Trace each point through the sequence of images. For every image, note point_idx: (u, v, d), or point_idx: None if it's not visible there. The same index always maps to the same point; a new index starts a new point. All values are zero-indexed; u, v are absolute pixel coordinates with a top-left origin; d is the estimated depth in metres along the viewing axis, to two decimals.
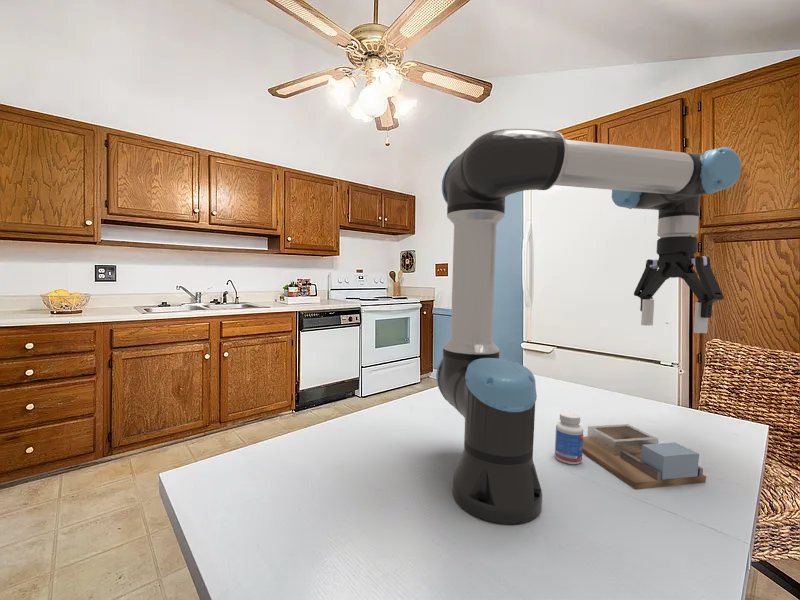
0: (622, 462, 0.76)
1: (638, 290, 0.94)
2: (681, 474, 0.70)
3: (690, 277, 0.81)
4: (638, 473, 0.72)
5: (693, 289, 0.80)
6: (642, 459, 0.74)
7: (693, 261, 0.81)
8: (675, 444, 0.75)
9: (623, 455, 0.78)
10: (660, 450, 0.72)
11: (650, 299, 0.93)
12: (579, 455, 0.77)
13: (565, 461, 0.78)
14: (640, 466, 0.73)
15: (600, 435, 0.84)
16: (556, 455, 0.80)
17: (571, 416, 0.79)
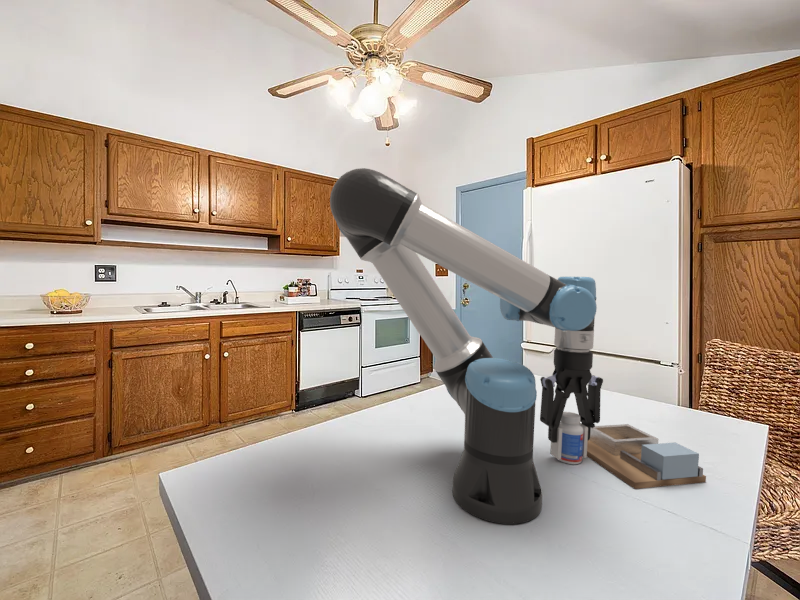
0: (622, 462, 0.76)
1: None
2: (681, 474, 0.70)
3: (556, 396, 0.79)
4: (638, 473, 0.72)
5: None
6: (642, 459, 0.74)
7: None
8: (675, 444, 0.75)
9: (623, 455, 0.78)
10: (660, 450, 0.72)
11: (584, 426, 0.80)
12: (579, 455, 0.77)
13: (565, 461, 0.78)
14: (640, 466, 0.73)
15: (600, 435, 0.84)
16: None
17: (571, 416, 0.79)
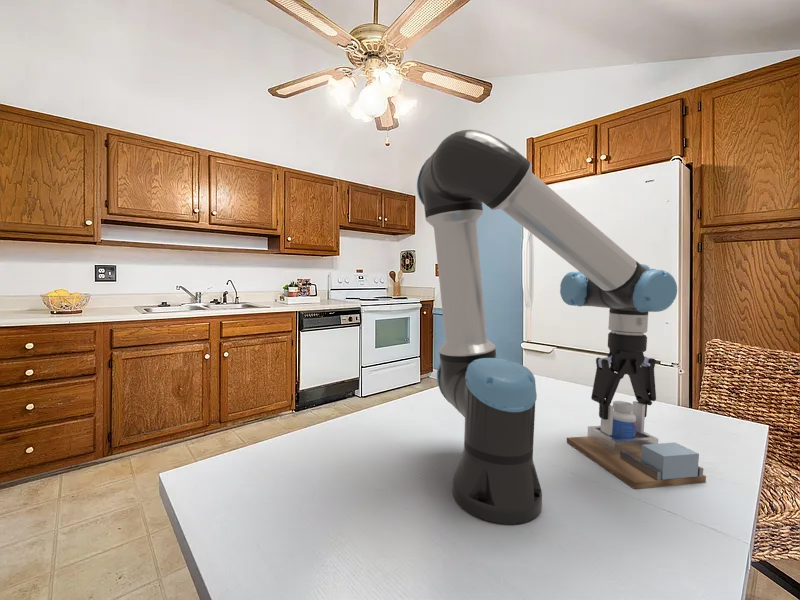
0: (622, 462, 0.76)
1: None
2: (681, 474, 0.70)
3: (609, 376, 0.84)
4: (638, 473, 0.72)
5: None
6: (642, 459, 0.74)
7: None
8: (675, 444, 0.75)
9: (623, 455, 0.78)
10: (660, 450, 0.72)
11: (641, 404, 0.84)
12: None
13: None
14: (640, 466, 0.73)
15: (600, 435, 0.84)
16: None
17: (624, 404, 0.83)
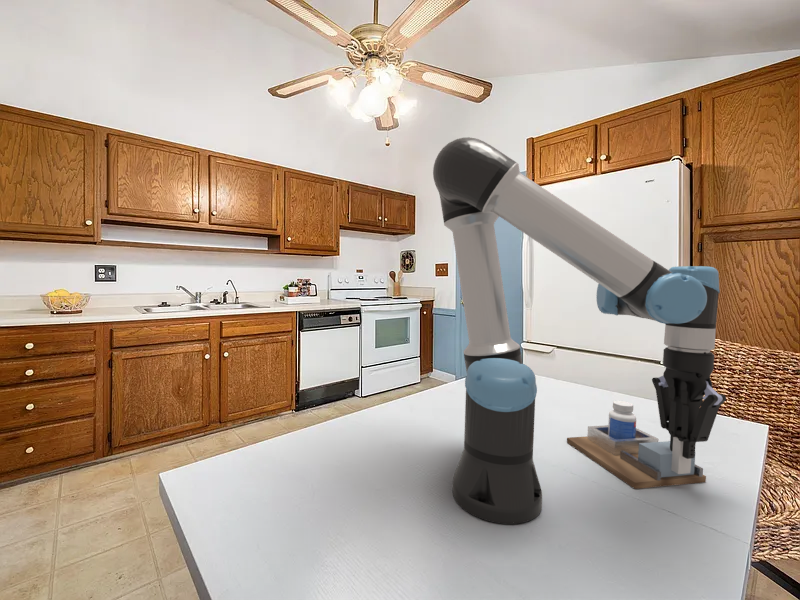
0: (622, 462, 0.76)
1: (664, 419, 0.73)
2: None
3: (690, 408, 0.68)
4: (638, 473, 0.72)
5: (684, 422, 0.69)
6: (639, 457, 0.75)
7: (706, 391, 0.65)
8: None
9: (623, 455, 0.78)
10: (657, 448, 0.73)
11: None
12: None
13: None
14: (640, 466, 0.73)
15: (600, 435, 0.84)
16: None
17: (624, 404, 0.83)
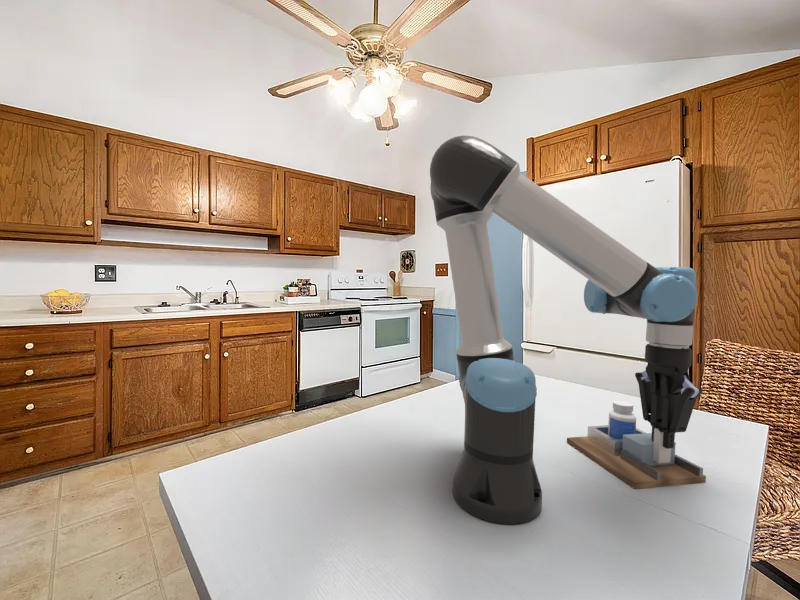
0: (622, 462, 0.76)
1: (646, 412, 0.77)
2: None
3: (670, 401, 0.72)
4: (638, 473, 0.72)
5: (664, 414, 0.73)
6: (623, 448, 0.79)
7: (684, 385, 0.69)
8: None
9: (623, 455, 0.78)
10: (639, 439, 0.77)
11: None
12: None
13: None
14: (640, 466, 0.73)
15: (600, 435, 0.84)
16: None
17: (624, 404, 0.83)
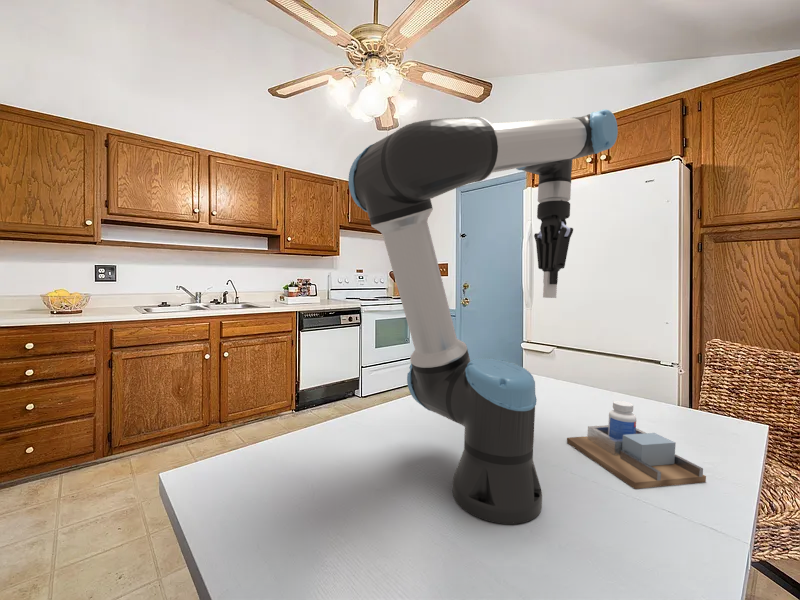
0: (622, 462, 0.76)
1: (540, 262, 0.95)
2: (659, 462, 0.75)
3: (553, 245, 0.90)
4: (638, 473, 0.72)
5: (549, 256, 0.91)
6: (623, 448, 0.79)
7: (561, 227, 0.88)
8: (654, 434, 0.80)
9: (623, 455, 0.78)
10: (639, 439, 0.77)
11: None
12: None
13: None
14: (640, 466, 0.73)
15: (600, 435, 0.84)
16: None
17: (624, 404, 0.83)
